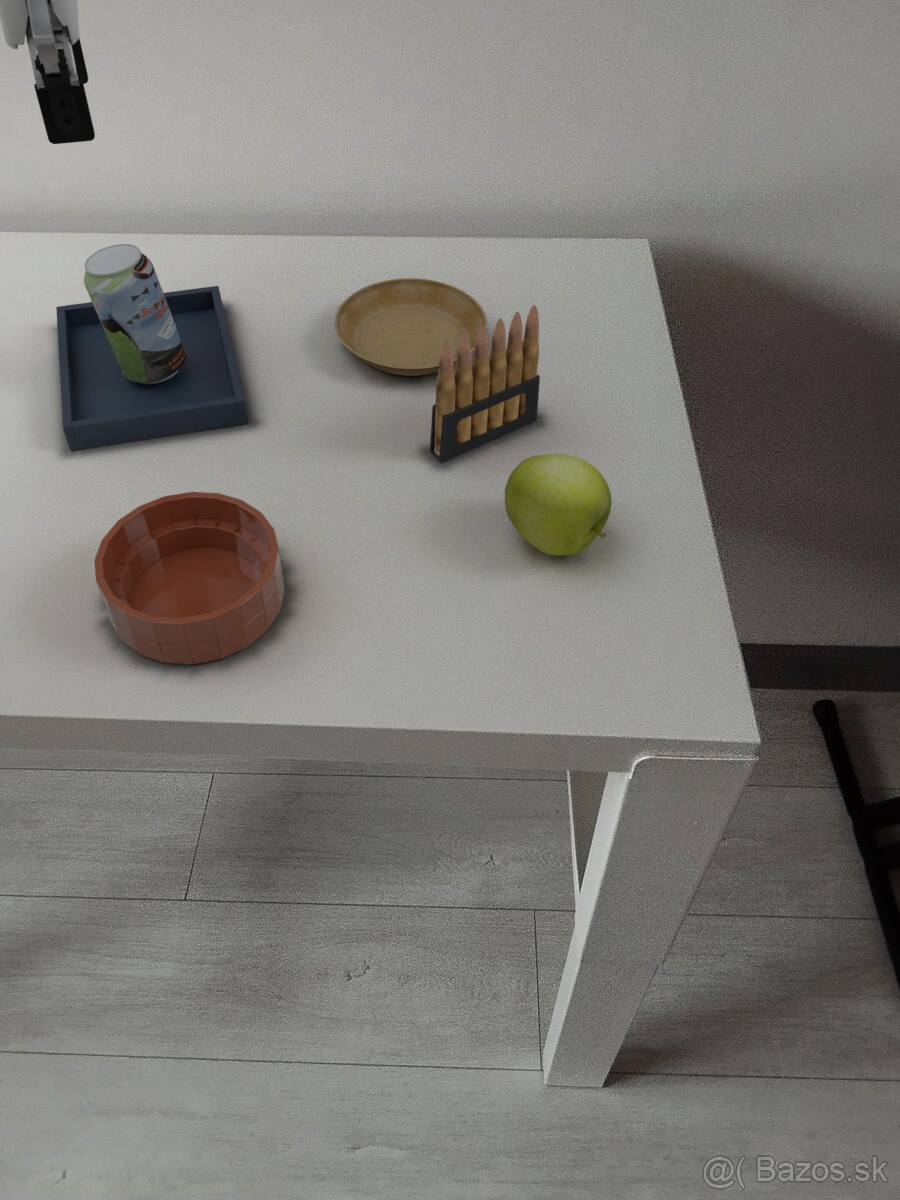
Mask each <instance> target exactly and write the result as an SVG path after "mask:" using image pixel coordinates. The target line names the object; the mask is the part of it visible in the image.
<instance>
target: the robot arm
mask: <svg viewBox="0 0 900 1200" xmlns="http://www.w3.org/2000/svg"><path fill="white" fill-rule="evenodd" d="M0 23H1V28H2V32H3V36H4V41H5V44H7V46H8V47H9V48H11V49H13V50H18V49H19V46H24V45H25V41H26V44H27V47H28V52H29V58H30V61H31V67H32V72H33V76H34V81H35V83H34V85H33V86H34V90H35V94H36V98H37V102H38V105H39V110H40V113H41V117H42V121H43V124H44V128H45V132H46V136H47V139H48V142H49V143H50V144H52V145H61V144H72V143H83V142H84V143H85V142H92V141H94V139H95V138H96V135H95V128H94V124H93V119H92V115H91V111H90V107H89V103H88V98H87V94H86V89H85V84H87V83H88V82H89V75H88V70H87V66H86V61H85V56H84V52H83V47H82V43H81V38H80V24H79V9H78V0H0Z"/></svg>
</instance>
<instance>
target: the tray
mask: <svg viewBox="0 0 900 1200" xmlns="http://www.w3.org/2000/svg"><path fill="white" fill-rule="evenodd" d="M163 293H164V296H165V299H166V301H167V304H168V307H169V309H170V312H171V315H172V317H173V320H174V323H175V325H176V328H177V331H178V333H179V336H180V339H181V341H182V344H183V347H184V349H185V352H186V361H185V363H184V364H183V366H182V367H181V368H180V369H179V371H178V372H177V373H176V374H175V375H174V376H173V377H171V378H169V379H167V380H165V381H163V382H160V383H155V384H143V383H138V382H133V381H131V380H129V379H127V378H126V377H125V376H124V374H123V372H122V370H121V367H120V365H119V363H118V360H117V358H116V356H115V354H114V351H113V349H112V347H111V344H110V342H109V340H108V337H107V335H106V333H105V331H104V328H103V326H102V324H101V321H100V319H99V317H98V314H97V312H96V310H95V308H94V305H93V303H92V301H90V302H89V301H88V302H82V303H74V304H66V305H59V306H56V308H55V310H56V327H57V328H56V329H57V344H58V345H57V346H58V347H57V348H58V362H59V365H58V366H59V380H60V381H59V382H60V399H61V416H62V417H61V418H62V430H63V433H64V436H65V439H66V441H67V445H68V448H69V451H71V452H74V451H79V450H80V451H81V450H87V449H92V448H93V449H94V448H100V447H105V446H112V445H118V444H125V443H126V444H127V443H131V442H138V441H144V440H151V439H157V438H163V437H170V436H177V435H183V434H189V433H197V432H201V431H209V430H215V429H221V428H228V427H234V426H241V425H246V424H249V416H248V409H247V404H246V399H245V394H244V390H243V386H242V380H241V376H240V373H239V368H238V364H237V360H236V355H235V351H234V346H233V343H232V338H231V332H230V330H229V325H228V321H227V316H226V313H225V312H226V311H225V308H224V305H223V299H222V295H221V291H220V287H219V285H214V286H213V285H212V286H205V287H198V288H190V289H189V288H188V289H181V290H173V291H167V292H163Z"/></svg>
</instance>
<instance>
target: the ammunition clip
mask: <svg viewBox="0 0 900 1200" xmlns="http://www.w3.org/2000/svg"><path fill="white" fill-rule="evenodd" d="M505 326H506V325H505V323H504V319H503V318H502V317H499V318H498V320H497V321H496V323H495V326H494V329H493V331H492V337H491V344H490V340H489V339H490V338H489V334H488V329H487V330H486V327H485V326H484V325H482V326H481V328H480V330H479V332H478V335H477V338H476V343H475V350H474V354H473V358H472V353H471V345H470V340H469V337H468V334H467V333H466V332H464V333H463V335H462V337H461V339H460V342H459V346H458V352H457V361H456V364H455V365H454V361H453V352H452V348H451V344H450V342H449V340H448V339H446V340H445V342H444V344H443V346H442V349H441V353H440V359H439V369H438V372H437V378H436V382H435V403H434V404H432V407H431V411H432V412H431V425H430V440H429V452H430V453H431V455H432V456H433V457H435V458H436V459H437V461H438V462H440V463H441V464H443V463H447V462H448V461H450V460H452V459H454V458H456V457H459V456H461V455H463V454H466V453H468V452H471V451H472V450H475V449H476V448H479V447H482V446H483V445H486V444H488V443H490V442H492V441H494V440H497V439H499V438H501V437H504V436H506V435H508V434H510V433H513V432H515V431H517V430H520V429H521V428H523V427H526V426H529V425H531V424H533V423H535V422H537V420H538V410H539V395H540V383H541V382H540V380H541V376H540V375H539V374H538V369H539V368H538V367H539V359H540V357H539V356H540V345H539V339H540V338H539V337H540V335H539V333H540V316H539V311H538V308H537V306H536V304H533V305H532V306H531V308H530V309H529V311H528V314H527V317H526V321H525V326H523V320H522V317H521V314H520V312H519V311H516V312H515V313H514V314H513V317H512V319H511V322H510V326H509V329H508V336H507V333H506V327H505ZM523 327H524V329H523ZM490 345H491V346H490ZM472 359H473V362H472ZM454 366H455V368H454Z"/></svg>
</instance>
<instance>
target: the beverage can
mask: <svg viewBox="0 0 900 1200" xmlns="http://www.w3.org/2000/svg"><path fill="white" fill-rule="evenodd" d="M83 265H84V270H85V271H84V275H83V284H84V286H85V289H86V291H87V294H88V296H89V298H90V300H91V301H90V302H92V303H93V305H94V308H95V310H96V312H97V314H98V317H99V319H100V321H101V324H102V326H103V328H104V331H105V333H106V335H107V337H108V340H109V342H110V344H111V347H112V349H113V351H114V354H115V356H116V358H117V360H118V363H119V365H120V367H121V370H122V372H123V374H124V376H125V377H126V378H127V379H129V380H131V381H133V382H138V383H143V384H155V383H160V382H163V381H165V380H167V379H169V378H171V377H173V376H174V375H175V374H176V373H177V372H178V371H179V369H180V368H181V367H182V366H183V364H184V363H185V361H186V352H185V349H184V347H183V344H182V341H181V339H180V336H179V333H178V331H177V328H176V325H175V323H174V320H173V317H172V315H171V312H170V309H169V307H168V304H167V301H166V299H165V296H164V293H165V292H164V291H163V288H162V286H161V282H160V280H159V278H158V275H157V272H156V269H155V267H154V264H153V262H152V260H151V259H150V258H149V257H148V256H146V255H145V254H144V253H142V251H141V249H140V248H139V247H138V246H136V245H134V244H131V243H117V244H112V245H108V246H106V247H103V248H100V249H99V250H97V251H95V252H94V253H92V254H90V255H89V256H88V258H87V259H86V260H85V262H84V264H83Z"/></svg>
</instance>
